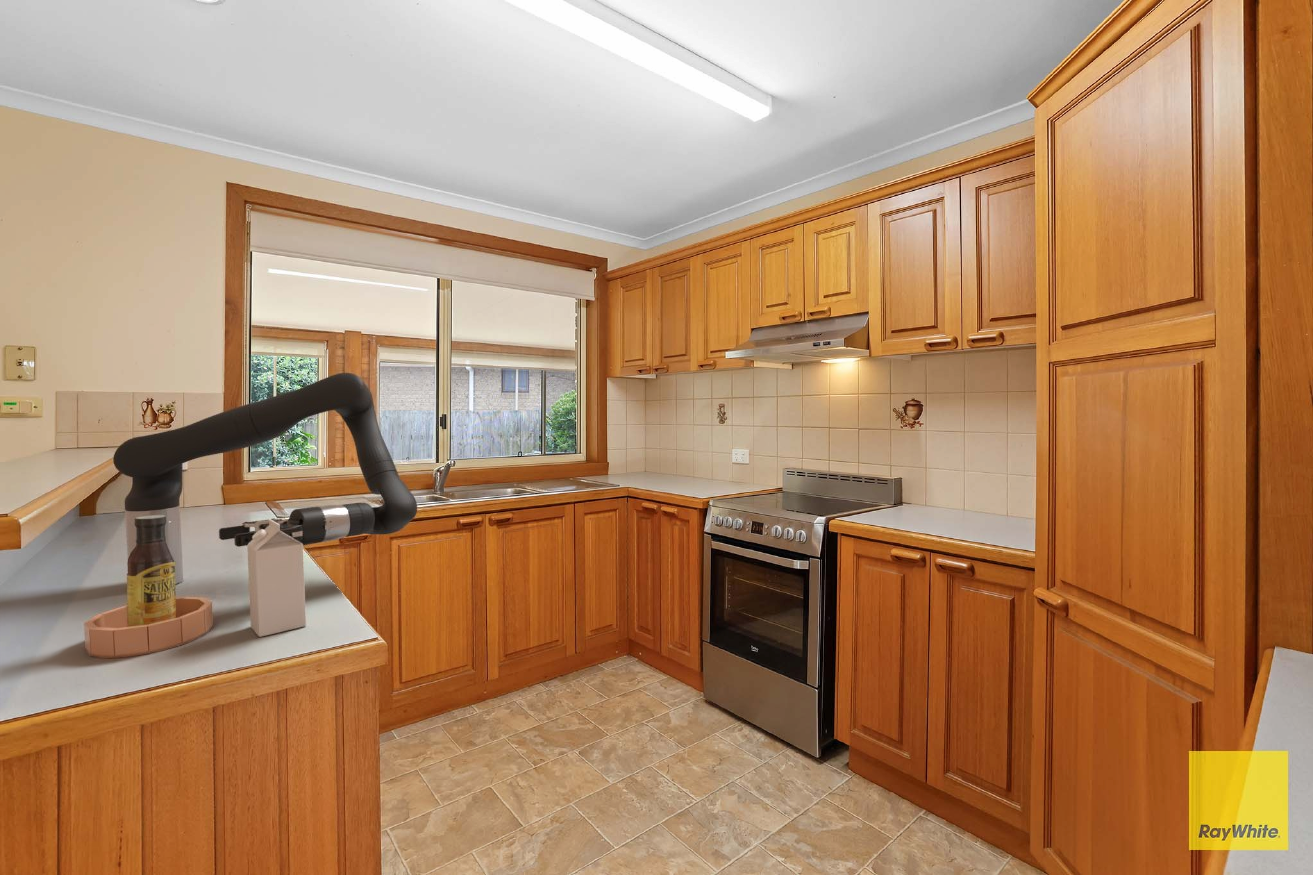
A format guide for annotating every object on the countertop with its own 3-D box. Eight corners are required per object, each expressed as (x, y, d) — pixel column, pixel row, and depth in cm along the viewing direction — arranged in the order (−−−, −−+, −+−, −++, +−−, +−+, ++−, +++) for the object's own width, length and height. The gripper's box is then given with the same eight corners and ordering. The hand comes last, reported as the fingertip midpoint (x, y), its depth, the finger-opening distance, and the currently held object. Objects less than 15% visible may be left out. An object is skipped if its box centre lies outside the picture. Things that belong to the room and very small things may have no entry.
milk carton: (296, 616, 110) (291, 516, 109) (306, 626, 105) (302, 521, 104) (250, 627, 105) (245, 522, 104) (259, 638, 100) (254, 527, 99)
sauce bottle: (148, 641, 96) (141, 521, 95) (118, 638, 97) (111, 520, 96) (187, 626, 103) (181, 514, 102) (158, 624, 104) (152, 512, 103)
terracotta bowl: (78, 641, 99) (76, 615, 98) (195, 614, 111) (194, 591, 111) (99, 667, 89) (97, 637, 89) (224, 634, 102) (223, 608, 101)
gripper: (305, 502, 126) (213, 513, 113) (335, 510, 117) (240, 522, 104) (305, 537, 126) (215, 551, 113) (336, 547, 118) (241, 563, 105)
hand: (227, 537), depth 109 cm, fingers open, 8 cm apart
